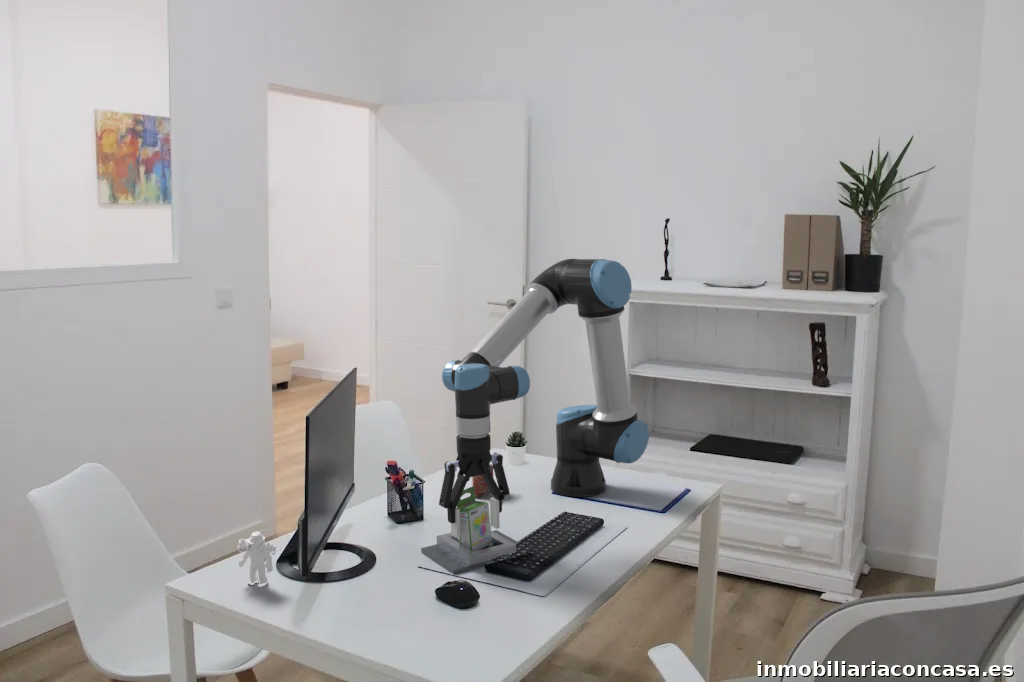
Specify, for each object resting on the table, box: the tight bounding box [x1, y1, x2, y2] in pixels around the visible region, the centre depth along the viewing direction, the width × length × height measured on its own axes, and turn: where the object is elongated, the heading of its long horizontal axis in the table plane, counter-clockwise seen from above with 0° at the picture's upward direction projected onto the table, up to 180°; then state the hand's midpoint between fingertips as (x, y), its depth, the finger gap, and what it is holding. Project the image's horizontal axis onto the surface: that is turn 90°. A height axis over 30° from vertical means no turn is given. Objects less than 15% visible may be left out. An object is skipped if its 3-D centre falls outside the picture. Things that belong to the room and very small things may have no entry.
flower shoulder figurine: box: [236, 528, 277, 584], centre depth 184 cm, size 9×4×12 cm, turn 69°
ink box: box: [457, 485, 492, 551], centre depth 199 cm, size 7×4×13 cm, turn 144°
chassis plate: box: [420, 529, 520, 575], centre depth 200 cm, size 20×15×3 cm
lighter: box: [471, 462, 494, 500], centre depth 241 cm, size 8×3×10 cm, turn 144°
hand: (475, 531), depth 199 cm, fingers open, 9 cm apart
